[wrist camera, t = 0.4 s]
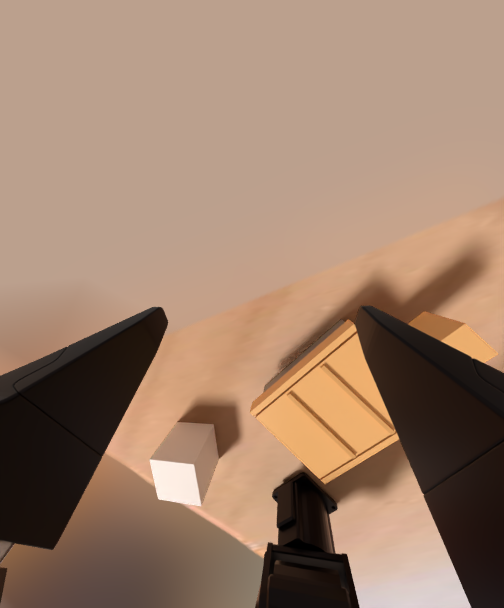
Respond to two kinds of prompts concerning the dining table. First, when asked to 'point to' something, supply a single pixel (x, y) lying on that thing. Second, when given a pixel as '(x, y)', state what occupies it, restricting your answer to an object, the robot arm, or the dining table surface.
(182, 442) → the white cube
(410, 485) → the dining table surface
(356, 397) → the lid
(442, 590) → the dining table surface
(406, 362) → the robot arm
